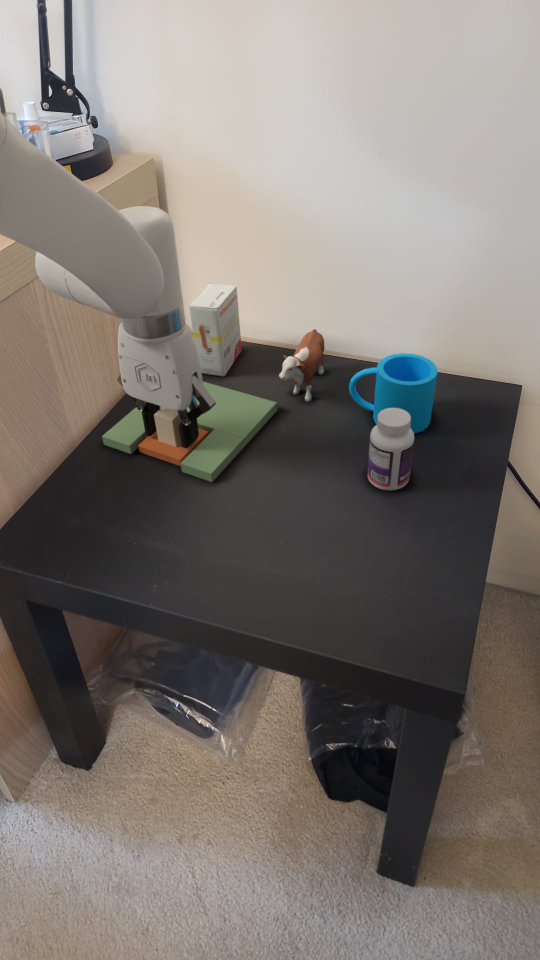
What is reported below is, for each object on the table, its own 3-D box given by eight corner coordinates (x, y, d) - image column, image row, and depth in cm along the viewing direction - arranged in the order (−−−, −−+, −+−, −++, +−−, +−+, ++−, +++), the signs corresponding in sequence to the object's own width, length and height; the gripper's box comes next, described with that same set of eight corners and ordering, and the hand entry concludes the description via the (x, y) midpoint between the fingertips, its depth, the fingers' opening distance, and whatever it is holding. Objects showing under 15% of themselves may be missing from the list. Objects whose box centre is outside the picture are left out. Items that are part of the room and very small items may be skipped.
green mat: (103, 444, 96) (101, 436, 95) (176, 381, 108) (175, 373, 107) (212, 482, 89) (211, 473, 88) (277, 410, 101) (277, 402, 100)
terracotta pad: (139, 452, 94) (132, 418, 91) (168, 425, 99) (163, 392, 95) (181, 466, 92) (176, 432, 88) (209, 438, 96) (205, 404, 93)
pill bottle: (401, 462, 91) (409, 401, 85) (414, 488, 87) (423, 427, 81) (362, 467, 90) (366, 406, 84) (373, 494, 86) (378, 432, 80)
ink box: (215, 346, 115) (209, 280, 108) (243, 350, 114) (238, 284, 106) (195, 373, 109) (187, 304, 102) (224, 377, 108) (217, 308, 100)
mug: (434, 406, 100) (441, 357, 95) (425, 438, 95) (432, 389, 89) (354, 393, 104) (357, 346, 98) (341, 424, 98) (343, 375, 92)
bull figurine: (275, 409, 101) (273, 361, 96) (306, 364, 110) (306, 318, 105) (303, 415, 100) (303, 367, 94) (332, 369, 109) (333, 322, 104)
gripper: (78, 315, 83) (106, 434, 95) (195, 346, 77) (210, 470, 89) (116, 290, 88) (138, 406, 100) (230, 317, 82) (239, 438, 93)
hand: (172, 435), depth 94 cm, fingers open, 5 cm apart
